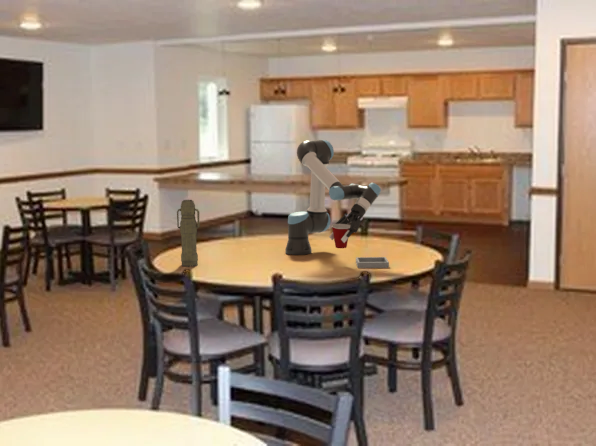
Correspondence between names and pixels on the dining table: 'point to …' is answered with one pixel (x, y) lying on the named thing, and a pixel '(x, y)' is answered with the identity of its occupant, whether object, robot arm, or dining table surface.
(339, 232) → the plastic cup
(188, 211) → the thermos
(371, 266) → the tray
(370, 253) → the dining table surface
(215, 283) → the dining table surface
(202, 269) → the dining table surface
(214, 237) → the dining table surface
